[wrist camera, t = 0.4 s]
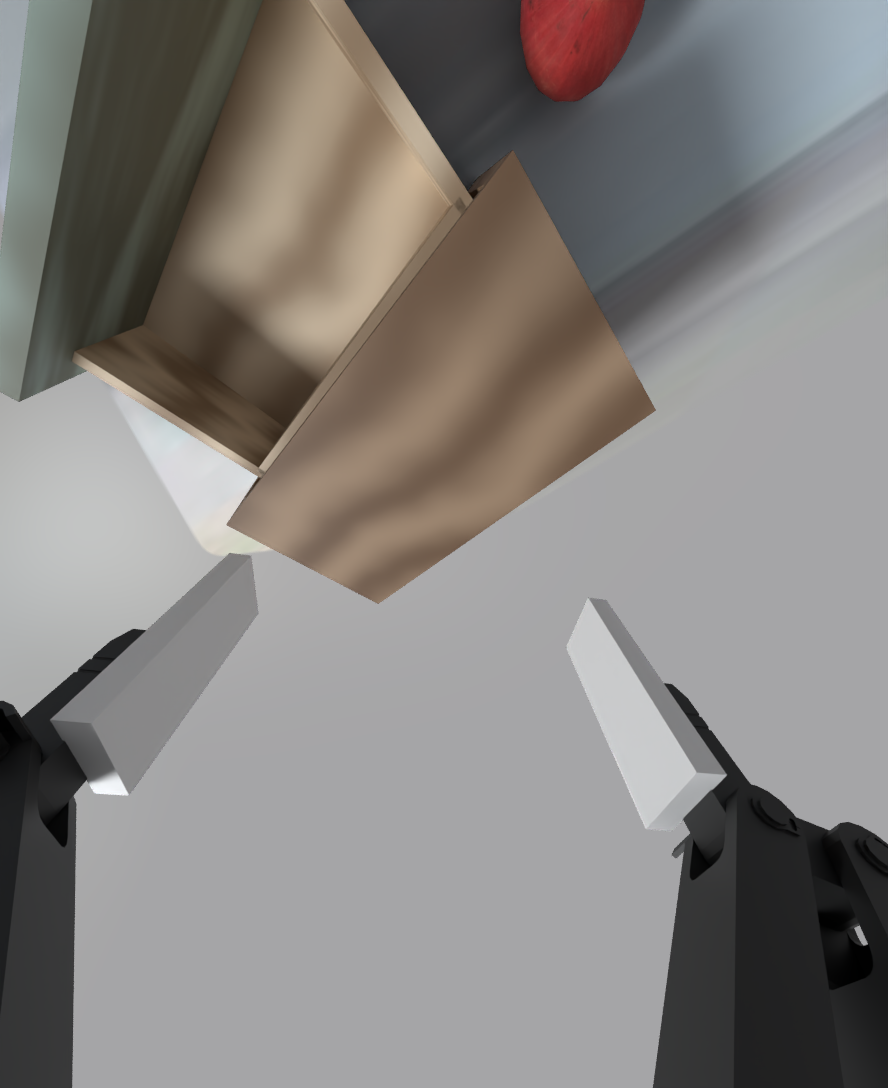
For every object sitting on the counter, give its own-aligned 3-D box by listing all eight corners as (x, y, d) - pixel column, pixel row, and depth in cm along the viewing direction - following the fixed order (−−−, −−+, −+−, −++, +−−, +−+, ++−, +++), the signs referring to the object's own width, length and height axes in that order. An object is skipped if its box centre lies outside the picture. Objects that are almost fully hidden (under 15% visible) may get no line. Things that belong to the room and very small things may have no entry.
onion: (487, 34, 19) (511, -43, 13) (578, -119, 16) (657, -300, 11) (547, 144, 22) (588, 119, 16) (633, 30, 19) (719, -48, 13)
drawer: (100, 314, 27) (-57, 361, 18) (249, -195, 15) (-16, -787, 6) (285, 443, 35) (237, 519, 26) (482, 183, 22) (514, 164, 14)
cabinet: (284, 436, 35) (226, 524, 25) (477, 178, 23) (512, 149, 13) (390, 511, 42) (378, 603, 32) (580, 344, 30) (655, 410, 20)
